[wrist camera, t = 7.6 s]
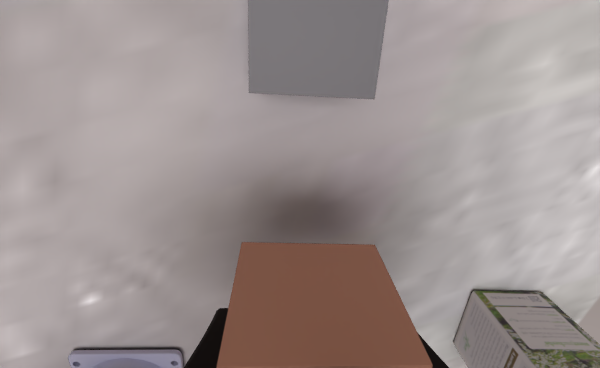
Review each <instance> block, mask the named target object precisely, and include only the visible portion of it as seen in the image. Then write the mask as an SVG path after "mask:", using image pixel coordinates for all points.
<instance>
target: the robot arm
mask: <svg viewBox="0 0 600 368" xmlns="http://www.w3.org/2000/svg"><path fill="white" fill-rule="evenodd" d="M227 313H228V308H220V309H218V310H217V311H216V313H215V316H214V318H213V320H212V322H211V323H210V325H209V327H208V329H207V331H206V333H205V334H204V336H203V338H202V340H201V341H200V343H199V345H198V346H197V348H196V349H195V351H194V353H193V354H192V356H191V357H190V359H189V360H188V362H187V364H186V365H185V367H183V359H182V353H181V352H180V351H179V350H75V351H72V352H71V354H70V355H69V356H68V360H69V363H70V366H71V368H217V363H218V358H219V353H220V348H221V343H222V338H223V333H224V328H225V323H226V318H227ZM418 336H419V338H420V340H421V342H422V344H423V346H424V348H425V350H426V352H427V354H428V356H429V358H430V360H431V363H432V365H433V366H432V368H449V367H448V366H447V365H446V364H445V363H444V362H443V361H442V360H441V359H440V357H439V356H438V355H437V354H436V353H435V352H434V351H433V350H432V349H431V348H430V346H429V345H428V344H427V343H426V342H425V341H424V340H423V338H422V337H421V336H420V335H419V334H418Z"/></svg>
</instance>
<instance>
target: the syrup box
mask: <svg viewBox="0 0 600 368" xmlns="http://www.w3.org/2000/svg"><path fill="white" fill-rule="evenodd" d="M454 345H455V347H456V349H457V350H458V352H459V354H460V355H461V357H462V359H463V360H464V362H465V363H466V365H467V367H468V368H600V345H599V344H598V343H597V342H596V341H595V340H594V339H593V338H592V337H591V336H590V335H589V334H587V333H586V332H585V331H584V330H583V329H582V328H581V327H580V326H579V325H578V324H576V323H575V322H574V321H573V320H572V319H571V318H570V317H569V316H568V315H566V314H565V313H564V312H563V311H562V310H561V309H560V308H559V307H558V306H557V305H556V304H555V303H553V302H552V301H551V300H550V299H549V298H548V297H547V296H546V295H545V294H543V293H542V292H514V291H512V292H511V291H473V292H472V294H471V296H470V299H469V301H468V303H467V306H466V308H465V311H464V314H463V317H462V320H461V323H460V325H459V328H458V331H457V334H456V337H455V341H454Z"/></svg>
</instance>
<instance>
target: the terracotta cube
mask: <svg viewBox="0 0 600 368" xmlns="http://www.w3.org/2000/svg"><path fill="white" fill-rule="evenodd" d="M432 366H433V365H432V363H431V360H430V358H429V356H428V354H427V352H426V350H425V348H424V346H423V344H422V342H421V340H420V338H419V336H418V333H417V331H416V329H415V327H414V325H413V323H412V321H411V319H410V317H409V315H408V313H407V311H406V309H405V306H404V304H403V302H402V300H401V298H400V296H399V294H398V292H397V290H396V288H395V286H394V284H393V282H392V279H391V277H390V275H389V273H388V271H387V269H386V267H385V265H384V263H383V261H382V259H381V257H380V255H379V252H378V250H377V248H376V246H375V245H360V244H307V243H254V242H242V244H241V249H240V254H239V259H238V264H237V269H236V274H235V278H234V283H233V288H232V293H231V298H230V303H229V308H228V313H227V318H226V323H225V328H224V333H223V338H222V343H221V348H220V353H219V358H218V363H217V368H432Z"/></svg>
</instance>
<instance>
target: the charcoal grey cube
mask: <svg viewBox="0 0 600 368" xmlns="http://www.w3.org/2000/svg"><path fill="white" fill-rule="evenodd" d="M388 1H389V0H248V36H249V93H259V94H279V95H298V96H318V97H337V98H357V99H375V92H376V85H377V78H378V71H379V64H380V57H381V50H382V43H383V36H384V29H385V22H386V15H387V8H388Z"/></svg>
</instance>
